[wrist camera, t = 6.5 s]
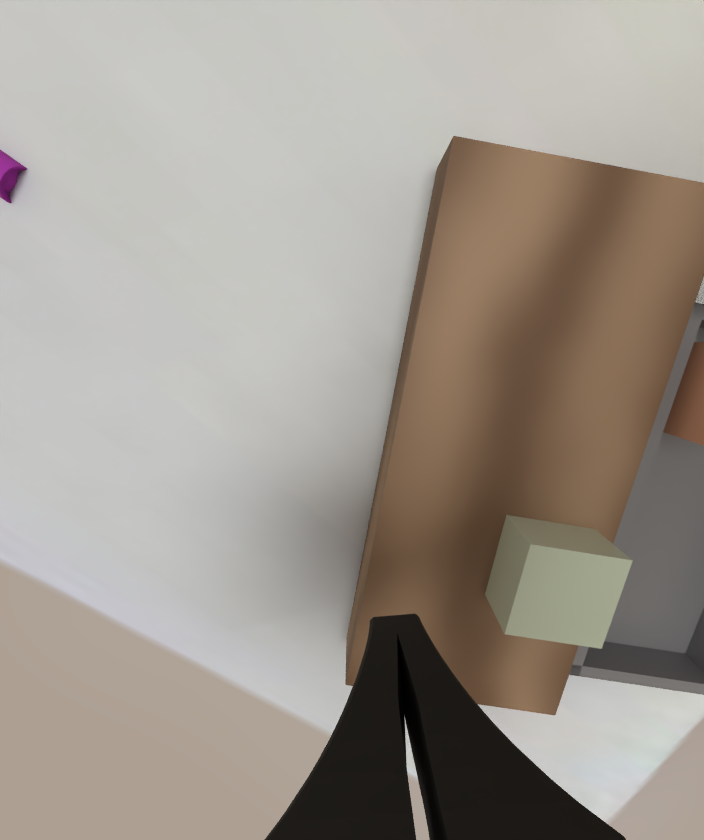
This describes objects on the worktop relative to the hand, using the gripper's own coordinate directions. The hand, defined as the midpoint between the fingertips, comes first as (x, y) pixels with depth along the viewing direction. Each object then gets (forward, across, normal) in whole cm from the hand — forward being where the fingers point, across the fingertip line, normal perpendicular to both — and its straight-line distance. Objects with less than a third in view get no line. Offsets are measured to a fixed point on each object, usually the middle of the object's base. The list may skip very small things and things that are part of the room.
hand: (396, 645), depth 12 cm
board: (+10, -6, -2) cm, 11 cm away
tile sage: (+6, -7, +2) cm, 10 cm away
